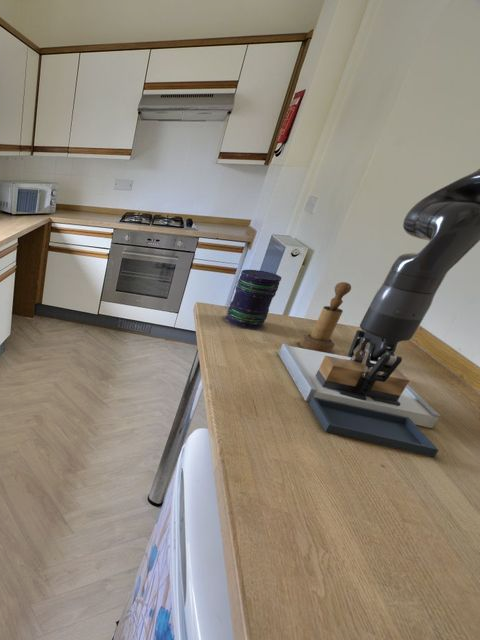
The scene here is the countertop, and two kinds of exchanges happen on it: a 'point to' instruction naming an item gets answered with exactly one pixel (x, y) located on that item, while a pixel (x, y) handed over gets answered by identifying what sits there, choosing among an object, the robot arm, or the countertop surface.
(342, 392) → the smudge
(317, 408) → the tray
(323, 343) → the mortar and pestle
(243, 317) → the storage jar
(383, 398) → the smudge
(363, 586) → the countertop surface
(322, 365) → the eraser
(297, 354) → the board
